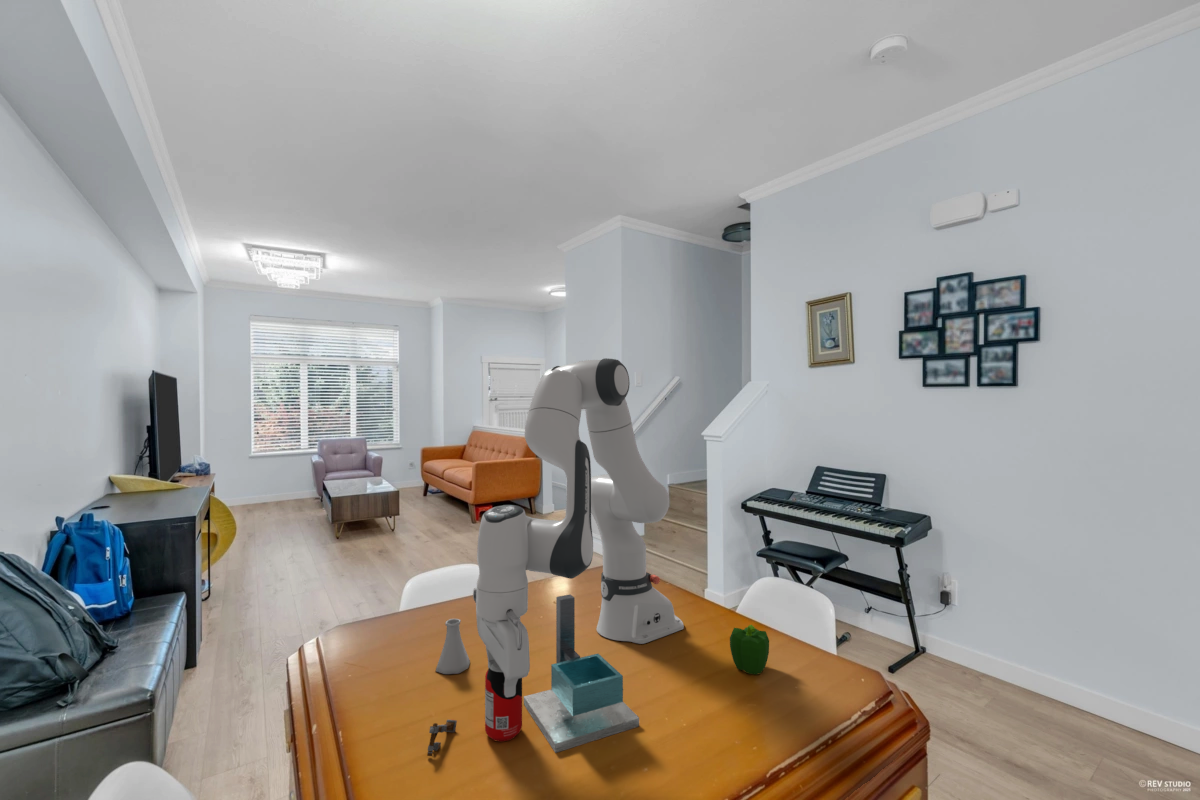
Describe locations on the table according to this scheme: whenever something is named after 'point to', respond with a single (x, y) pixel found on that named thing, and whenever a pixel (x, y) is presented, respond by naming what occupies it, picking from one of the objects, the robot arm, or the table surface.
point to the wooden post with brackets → (434, 730)
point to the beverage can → (501, 706)
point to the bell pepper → (749, 649)
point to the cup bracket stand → (579, 692)
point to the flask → (453, 651)
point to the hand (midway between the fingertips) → (501, 681)
